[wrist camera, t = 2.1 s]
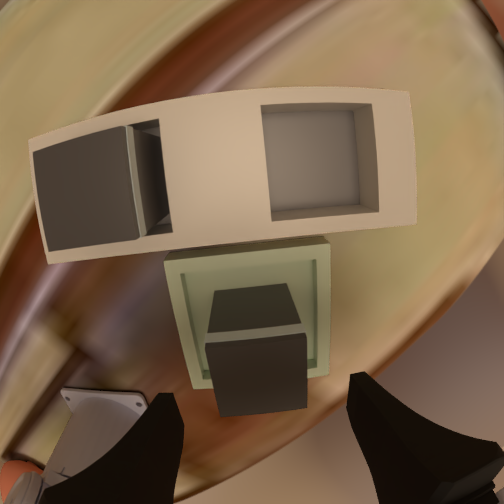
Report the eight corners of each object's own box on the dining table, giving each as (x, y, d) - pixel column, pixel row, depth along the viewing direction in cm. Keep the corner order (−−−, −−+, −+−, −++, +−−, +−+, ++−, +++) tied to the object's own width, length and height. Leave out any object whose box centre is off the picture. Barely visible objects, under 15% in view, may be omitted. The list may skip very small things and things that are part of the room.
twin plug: (171, 213, 16) (138, 240, 11) (102, 223, 16) (47, 253, 11) (162, 136, 15) (122, 124, 9) (92, 151, 15) (31, 151, 9)
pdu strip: (390, 213, 18) (416, 224, 15) (73, 248, 17) (48, 264, 14) (382, 100, 16) (409, 91, 12) (57, 140, 15) (28, 139, 12)
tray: (323, 361, 20) (328, 374, 19) (195, 374, 20) (193, 389, 19) (322, 236, 18) (330, 243, 16) (169, 252, 18) (163, 261, 16)
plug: (290, 343, 19) (308, 408, 13) (223, 350, 19) (219, 417, 13) (287, 282, 18) (308, 336, 12) (213, 289, 18) (203, 347, 12)
